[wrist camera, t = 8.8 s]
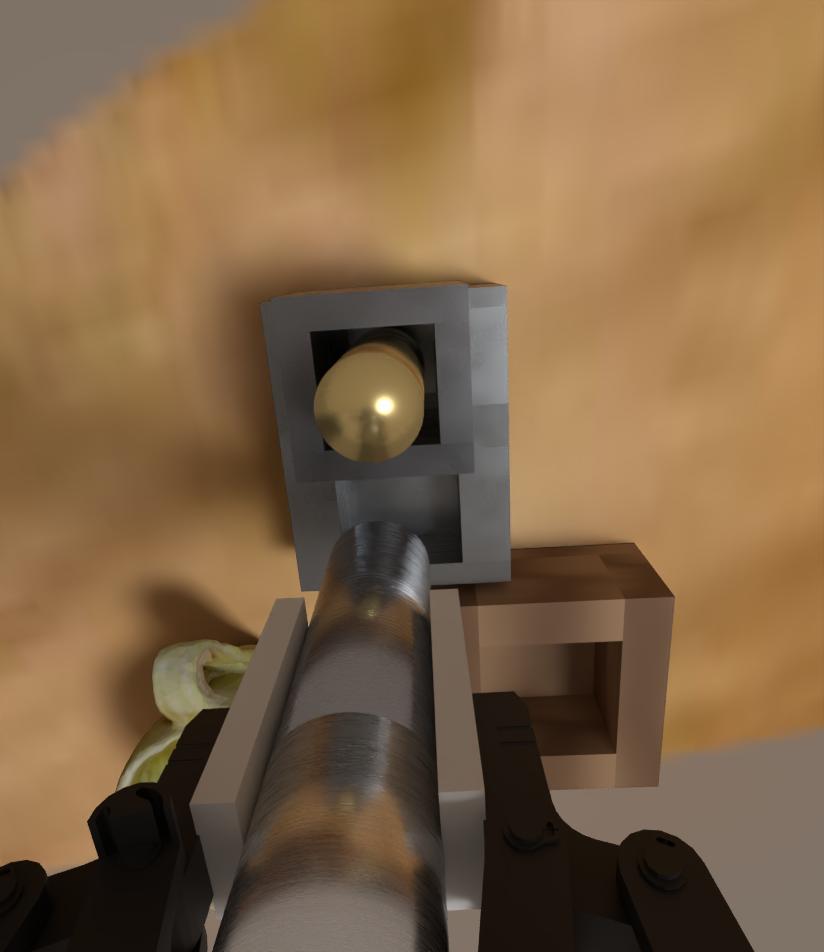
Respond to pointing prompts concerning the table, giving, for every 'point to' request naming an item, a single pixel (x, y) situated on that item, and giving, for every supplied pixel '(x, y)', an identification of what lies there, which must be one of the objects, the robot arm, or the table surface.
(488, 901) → the robot arm
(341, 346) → the block
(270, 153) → the table surface
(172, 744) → the mug
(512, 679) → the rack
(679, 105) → the table surface
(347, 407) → the yellow capsule
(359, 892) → the brushed metal rod
